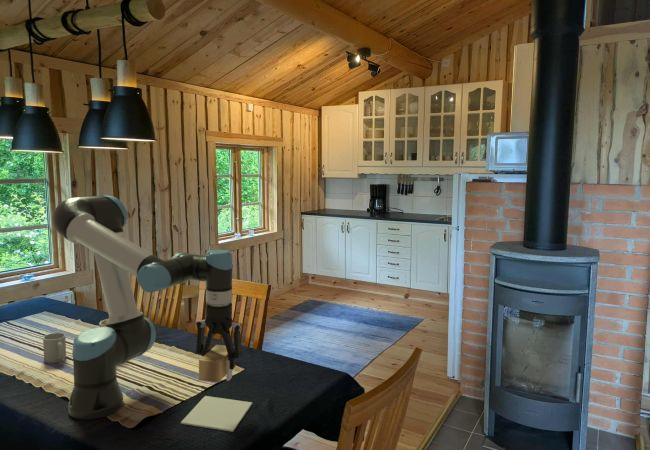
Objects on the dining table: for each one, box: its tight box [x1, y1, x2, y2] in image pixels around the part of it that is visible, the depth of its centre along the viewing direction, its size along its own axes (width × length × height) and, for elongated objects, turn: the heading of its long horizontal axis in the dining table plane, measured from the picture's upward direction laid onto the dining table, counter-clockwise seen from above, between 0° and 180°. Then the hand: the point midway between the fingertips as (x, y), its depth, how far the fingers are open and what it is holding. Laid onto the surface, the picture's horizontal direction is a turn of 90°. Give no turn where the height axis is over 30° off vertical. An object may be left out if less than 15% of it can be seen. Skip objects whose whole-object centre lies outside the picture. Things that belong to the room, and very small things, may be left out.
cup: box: [42, 332, 67, 364], centre depth 176 cm, size 7×10×9 cm
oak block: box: [198, 344, 229, 384], centre depth 141 cm, size 6×6×12 cm
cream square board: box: [180, 395, 253, 433], centre depth 144 cm, size 16×16×1 cm
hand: (218, 377), depth 143 cm, fingers closed on oak block, 6 cm apart
